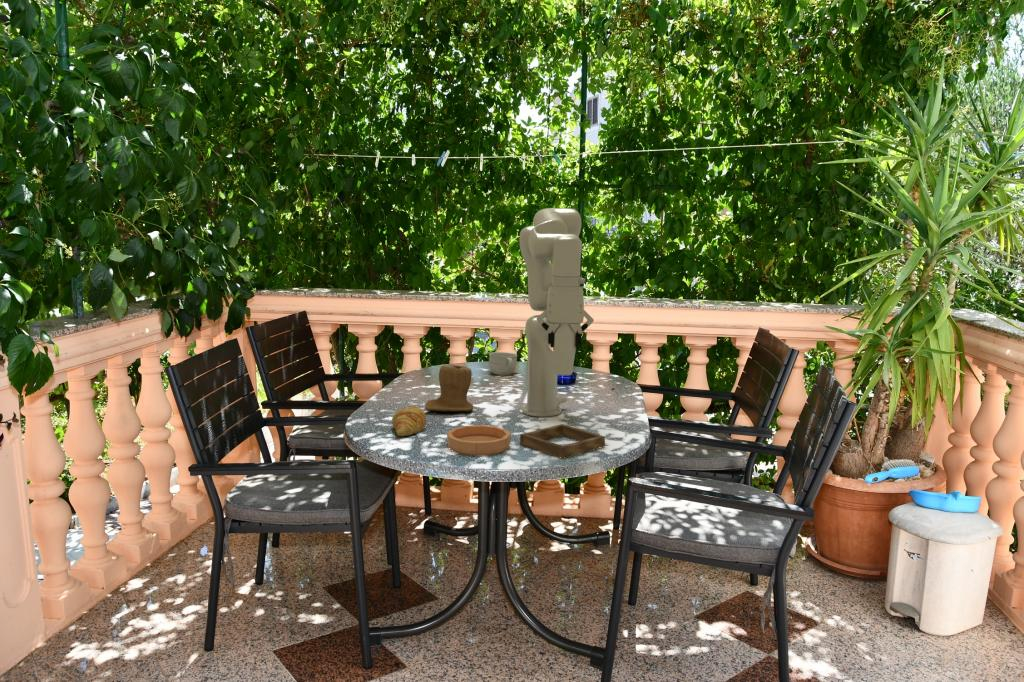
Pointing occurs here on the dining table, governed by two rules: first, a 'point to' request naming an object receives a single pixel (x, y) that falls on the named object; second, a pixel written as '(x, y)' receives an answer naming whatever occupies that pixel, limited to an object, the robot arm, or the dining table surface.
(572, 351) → the faceted bottle
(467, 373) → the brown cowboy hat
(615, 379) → the dining table surface
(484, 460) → the dining table surface
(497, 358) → the teacup
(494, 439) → the terracotta dish
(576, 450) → the square wooden frame
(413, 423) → the croissant
